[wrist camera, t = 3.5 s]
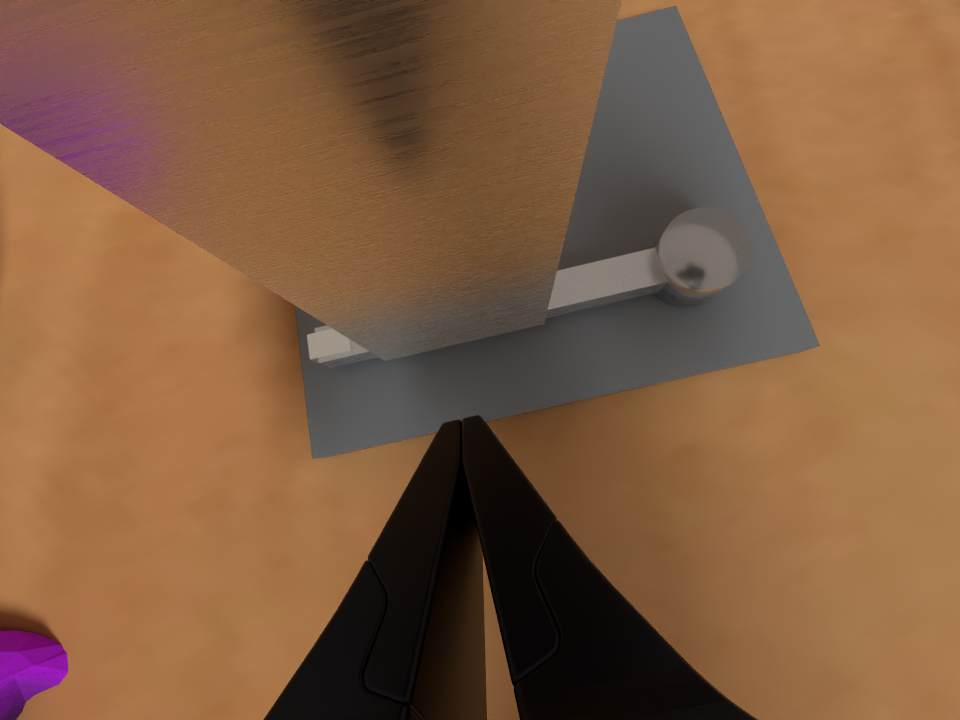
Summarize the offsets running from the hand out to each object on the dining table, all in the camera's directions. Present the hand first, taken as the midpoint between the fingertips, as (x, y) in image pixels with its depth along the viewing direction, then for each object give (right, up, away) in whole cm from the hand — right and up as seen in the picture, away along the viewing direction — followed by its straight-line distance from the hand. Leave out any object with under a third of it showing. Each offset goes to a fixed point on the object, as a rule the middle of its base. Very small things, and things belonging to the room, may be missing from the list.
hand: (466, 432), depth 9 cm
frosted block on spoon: (+2, +4, +7) cm, 8 cm away
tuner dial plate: (+2, +8, +9) cm, 12 cm away
